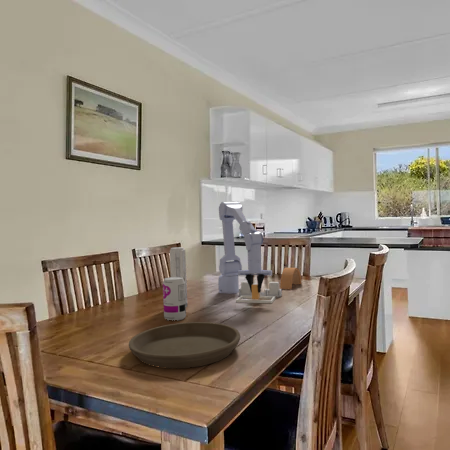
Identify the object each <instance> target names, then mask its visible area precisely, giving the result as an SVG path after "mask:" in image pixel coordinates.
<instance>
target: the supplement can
mask: <svg viewBox="0 0 450 450" xmlns="http://www.w3.org/2000/svg"><path fill="white" fill-rule="evenodd" d="M162 296H163V299H162V301H163V318H164V319H165V320H166V319H167V320H166V321H169V320H172V321H173V320H174V321H173V322H175V320H177V321H181V320H184V319H185V318H186V317H187V307H186V299H185V281H184V279H183V277H171V276H169V277H165V278H163V281H162Z"/></svg>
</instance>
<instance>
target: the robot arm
mask: <svg viewBox="0 0 450 450" xmlns="http://www.w3.org/2000/svg"><path fill="white" fill-rule="evenodd" d="M218 216H219V220H220V221H221V222H222V223H221V224H222V225H221V226H222V236H223V247H224V248H223V249H224V251H223V252H224V255H223V256H222V257H221V258H220V259H219V265H218V269H219V274H221V275H219V276H218V281H217V283H218V284H217V285H218V293H219V294H237V293H238V294H239V289H240V287H239V286H240V285H239V276H244V277H245V280H246V282H248V284H249V287H250V290H251V292H252V284H253V283H254V276H256V279H257V283H258V293H260V292H262V290H261V289H262V285H263V283H264V279H265V277H266V276H269V277H270V276H273V270H271V269H270V270H269V269H267V270H266V269H262V245H263V243H264V236H263V234H262V232H261V231H258V230H257V229H256V228H255V227H254V225H253V223H252V222H251V221H250V220H247V218H246V216H245V215H244V212H243V205H242V203H241V202H240V201H234V202H233V201H221V202H220V204H219V206H218ZM234 221H237V223H238V224H239V227H238V228H239V230H240V232H241V233H242V236H243V237H244V244H245V248H246V250H247V269H244V270H243V265H242V262H241V258H240V257H239V256H238V255H236V249H235V237H234V226H233V225H234V223H233V222H234Z"/></svg>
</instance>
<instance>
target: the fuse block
mask: <svg viewBox="0 0 450 450" xmlns="http://www.w3.org/2000/svg"><path fill="white" fill-rule="evenodd" d="M282 290H283V289H280V288H279V294H269V288H264V291H261V292H260V296H275V298H280V297H282V295H283V292H282ZM240 296H252V292H251V290H250V294H245V293H241V287H239V292H238V298H239V297H240Z"/></svg>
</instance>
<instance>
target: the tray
mask: <svg viewBox="0 0 450 450" xmlns="http://www.w3.org/2000/svg"><path fill="white" fill-rule="evenodd" d="M259 299H260V300H259ZM259 299H252V296H240V297H238V298H236V299H235V303H238V304H239V303H245V304H246V303H248V304H273V302H274V301H275V300H276V297H275V296H260V298H259ZM264 299H265V300H264Z"/></svg>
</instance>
